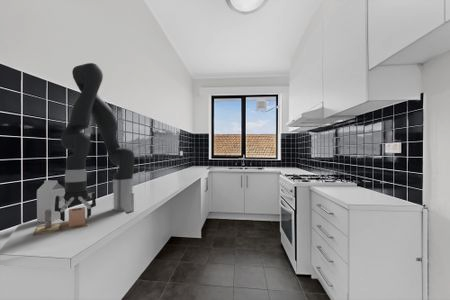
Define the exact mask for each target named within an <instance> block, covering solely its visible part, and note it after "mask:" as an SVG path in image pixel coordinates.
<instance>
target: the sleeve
mask: <svg viewBox="0 0 450 300" xmlns="http://www.w3.org/2000/svg"><path fill="white" fill-rule="evenodd" d="M85 219H86V206H85V207H84V206H81V207H75V208H69V209H68V221H69V227H72V226H78V225H83V224H85Z"/></svg>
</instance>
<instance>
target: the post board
mask: <svg viewBox="0 0 450 300" xmlns="http://www.w3.org/2000/svg"><path fill="white" fill-rule="evenodd" d="M86 227H88V221H87V218H85V224H83V225H78V226H72V227H69V220H68V221H61V222H55V223H52V222H51V210H50V209H47V210H46V211H45V222H44V224H43V225H37V226H36V228H35V230H34V232H33V234H32V237H35V236H39V235H40V236H41V235H46V234H51V233H58V232H64V231H69V230H76V229H81V228H86Z"/></svg>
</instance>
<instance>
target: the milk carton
mask: <svg viewBox="0 0 450 300" xmlns="http://www.w3.org/2000/svg"><path fill="white" fill-rule="evenodd" d="M57 195H58V196H64V195H65V186H62V184H59V182H58V180H50V179H49V180H44V183H42V185H41V186H40V187H39V188H38V189H37V190H36V219H37V220H36V222H42V223H45V211H46V210H47V209H50V210H51V223H53V222H55V221H59V220H61V219H60V212H58V211H55V198H56V196H57ZM65 203H66V200H65V199H64V198H63V199H62V200H61V201H59V208H62V207H63V206H64V204H65ZM64 211H65V212H66V209H65V210H64Z"/></svg>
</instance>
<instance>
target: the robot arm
mask: <svg viewBox="0 0 450 300" xmlns="http://www.w3.org/2000/svg"><path fill="white" fill-rule="evenodd" d="M103 74H104V73H103V71H102V69H101V67H100V66H99V65H97V64H96V63H93V62H89V63H88V62H87V63H84V64H80V65H76V66H74V67H73V69H72V78H73V81H74V82H75V84H76V86H77V87H78V89H79V92H80V94H79V96H78V97H77V99H76V101H75V102H74V104H73V106H72V108H71V112H70V118H69V122H68V124H67V125H66V127H65V129H64V131H63V132H62V135H61V138H60V141H61V142H60V143H61V145H62V147H63V148H64V149H66V150H73V151H74V152H73V154H71V155H68V156H66V158H65V173H64V188H65V195H64V196H58V195H57V196H56V198H55V211H58V212H60V219H59V220H60V221H61V222H66V221H65V219H66V209H67V208H68V207H69V206H76V205H81V204H83V205H84V206H85V208H86V217H87V218H90V216H92V208H95V207H96V205H97V204H96V202H97V201H96V192H95V191H92V192H88V191H87V190H88V189H87V187H88V186H87V179H88V178H87V161H86V160H87V157H88V153H89V151H90V148H91V147H90V146H91V138H90V136H89V135H88V134H87V133H86V132H82V131H83V130H86V129H88V128H89V125H90V121H91V116H92V117H93V121H94V122H95V125H96V126H97V129H98V131H99V133H100V135H101V138H102V140H103V142H104V146H105V148H106V149H105V150H106V152H107V155H108V159H109V161H110V163H111V164H112V165H114V166H116V167H117V166H118V170H117V171H116V172H114V174H113V175H112V178H113V184H112V185H113V186H112V187H113V188H112V189H113V211H115V212H124V213H127V214H128V213H131V212H134V211H135V201H134V200H135V199H134V198H135V197H134V196H135V195H134V194H135V193H134V192H133V191H134V190H133V183H134V182H133V175H134V173H135V172H134V171H135V154H134V151H133V150H132V149H130V148H126V147H124V148H123V147H121V146H120V143H119V141H118V121H117V118H116V115H115V113H114V111H113V109H112V108H111V107H110V106H109V105H108V104H107V102H105V101H104V100H103V99H102V98H101V97H100V95H99V94H98V93H99V89H100V87H101V85H102V82H103V79H104V78H103V76H104V75H103ZM88 197H89V198H90V199H91V204H90V203H89V202H88V201H87V198H88ZM63 198H64V199H65V204H64V206H63V207H62V208H59V201H61V200H62V199H63ZM64 210H65V211H64ZM87 218H86V219H87Z"/></svg>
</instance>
